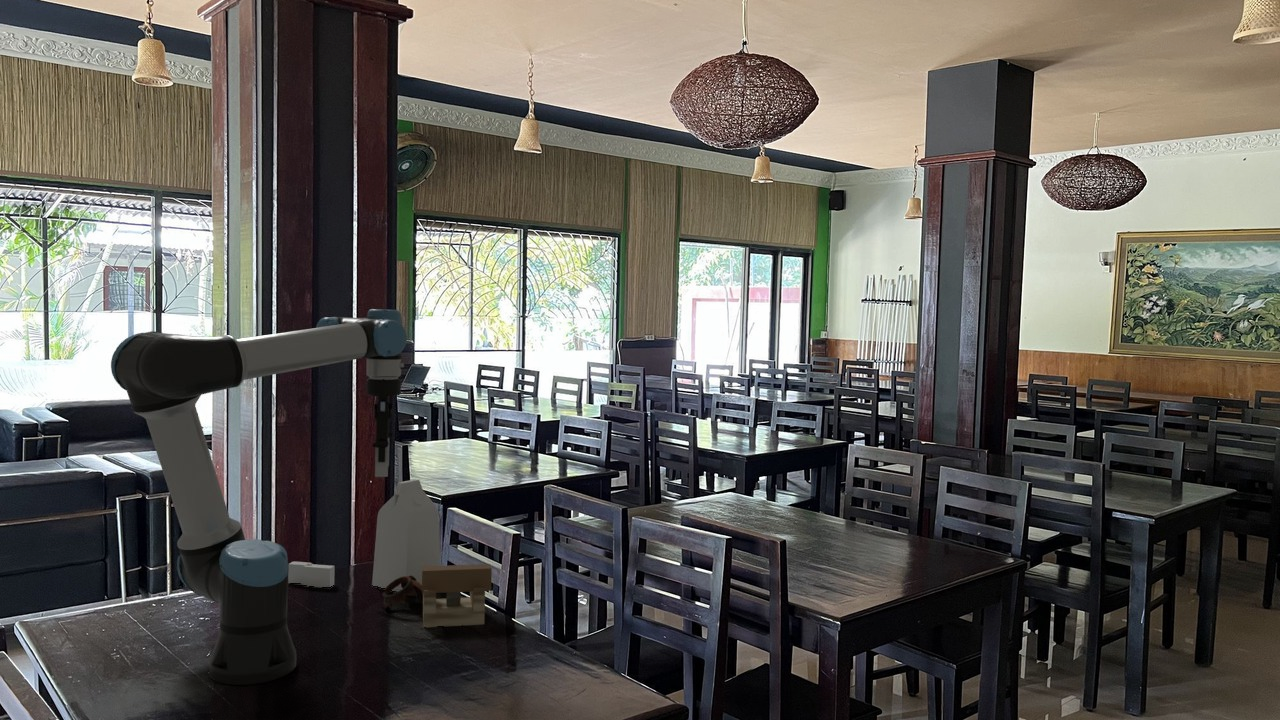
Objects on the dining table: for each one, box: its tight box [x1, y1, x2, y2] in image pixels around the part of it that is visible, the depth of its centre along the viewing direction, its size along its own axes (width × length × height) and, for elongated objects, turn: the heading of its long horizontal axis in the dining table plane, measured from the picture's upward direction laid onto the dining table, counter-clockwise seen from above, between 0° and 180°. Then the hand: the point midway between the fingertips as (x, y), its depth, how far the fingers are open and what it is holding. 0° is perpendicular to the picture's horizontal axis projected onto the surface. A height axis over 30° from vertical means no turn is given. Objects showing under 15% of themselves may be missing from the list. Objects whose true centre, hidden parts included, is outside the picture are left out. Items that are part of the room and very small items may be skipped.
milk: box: [371, 479, 441, 592], centre depth 226 cm, size 12×12×26 cm
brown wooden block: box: [422, 563, 492, 594], centre depth 202 cm, size 4×15×5 cm, turn 104°
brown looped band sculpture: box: [382, 576, 423, 609], centre depth 210 cm, size 12×10×8 cm
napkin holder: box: [288, 560, 336, 588], centre depth 225 cm, size 15×11×6 cm
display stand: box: [422, 587, 486, 628], centre depth 203 cm, size 10×13×8 cm
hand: (382, 471), depth 206 cm, fingers open, 13 cm apart
